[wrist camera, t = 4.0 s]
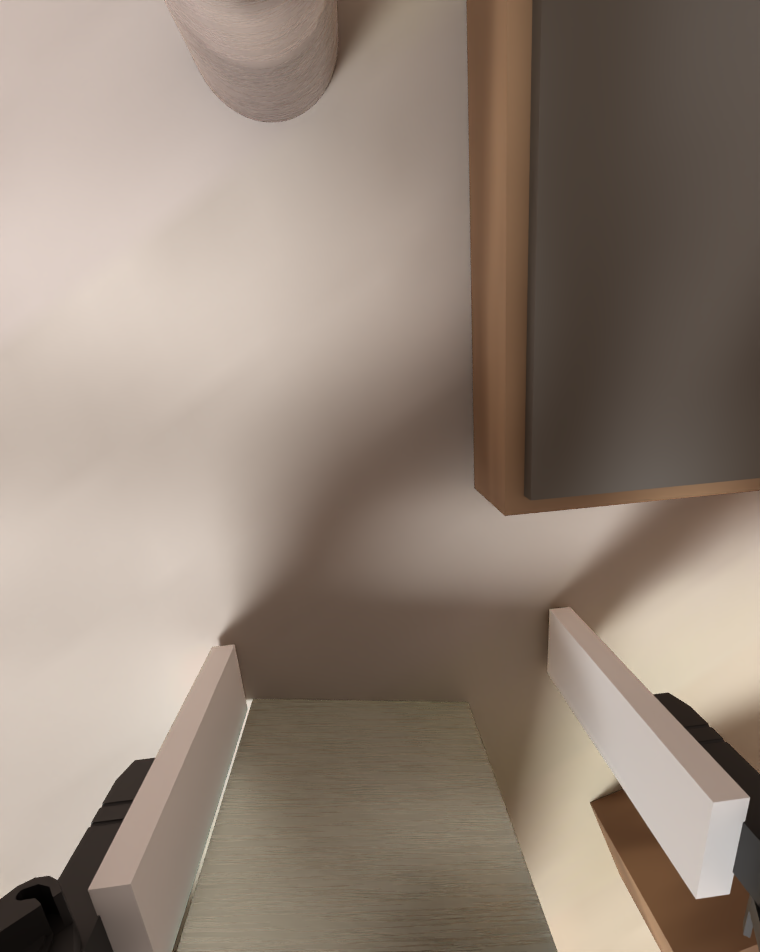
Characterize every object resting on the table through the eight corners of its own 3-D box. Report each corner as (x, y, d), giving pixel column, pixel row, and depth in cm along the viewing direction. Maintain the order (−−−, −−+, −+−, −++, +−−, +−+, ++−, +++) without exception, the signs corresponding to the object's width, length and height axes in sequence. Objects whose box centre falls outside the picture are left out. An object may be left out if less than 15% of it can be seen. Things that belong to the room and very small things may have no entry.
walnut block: (618, 872, 18) (716, 1054, 13) (589, 800, 17) (685, 972, 12) (721, 831, 18) (858, 1000, 13) (698, 755, 17) (841, 911, 12)
